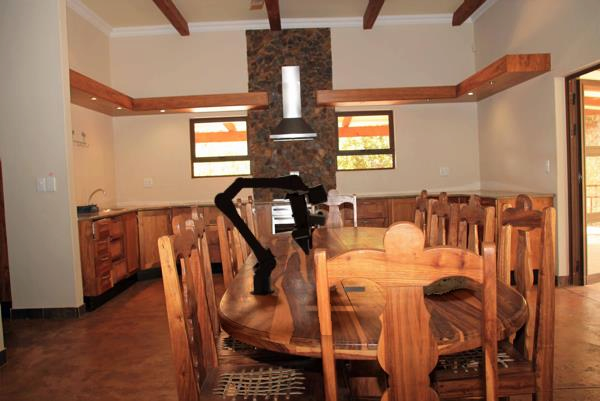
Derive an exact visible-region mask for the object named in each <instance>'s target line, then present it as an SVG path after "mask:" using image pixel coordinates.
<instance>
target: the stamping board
mask: <svg viewBox="0 0 600 401" xmlns="http://www.w3.org/2000/svg"><path fill="white" fill-rule="evenodd" d="M343 292H344V293H346V292H347V293H348V292H349V293H354V292H355V293H359V292H360V293H361V292H362V293H364V292H365V293H366V286H344V288H343Z"/></svg>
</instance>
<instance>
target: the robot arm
mask: <svg viewBox="0 0 600 401" xmlns="http://www.w3.org/2000/svg"><path fill="white" fill-rule="evenodd" d="M243 189H280V190H285V191H286V192H285V195H283V197H282V200H285V201H286V200H288V202H289V206H290V209H291V214H290V215H291V218H292V219H293V222H294V226H293V227H294V228H293V229H292V232H291V233H290V235H291V239H292V240H293V241H295V242H296V244H297V245H298V247H299V248H301V249H300V250H301V251H302V252H303V253H304V254H305V255H306V256H310V250H313V248H314V240H313V238H314V232H315V230H316V229H317V228H316V227H317V226H320V227H325V225H326V222H327V215H326V214H324V211H321V210H318V211H317V213H312V211H311V210H310V209H308V205H310V206H312V207H314V206H318V205H321V204H325V203H328V199H329V198H328V194H327V192H326V189H325V188H324V185H323V184H322V183H320V184H317V185H315V186H313V185H312V186H310V187H309V185H307V184H305V183H304V182H303V178H302V177H301V176H300V175H299V174H296V173H295V174H287V175H283V176H276V177H242V176H241V177H239V176H238V177H236V178H235V179H234V181H232V183H231V184H230V185H228V187H227V188H226V189H224V191H219V192H218V193H217V194H215V196H214V198H213V201H214V202H213V203H214V206H215V208H217V209H218V210H219V211H220V212H221V213H222V214H223V215H225V217H227V218H228V219H229V221H230V222H231V223H232V225H233V227H235V229H236V230H237V232H238V233H239V234H240V235H241V237H242V239H243V240H244V241H245V242H246V244H247V245H248V246H249V248H250V249H251V250H252V253H253V256H254V257H255V259H256V261H257V262H256V263H255V264H254V265H253V266H252V268H251V269H252V272H253V273H254V274H253V276H252V282H253V284H252V285H253V290H251V291H249V294H252V295H253V294H254V295H261V296H262V295H263V296H267V295H268V294H271V293H273V292H275V291H276V290H275V289H272V276H271V275H272V272H273V271H274V270H275V269H276V267H277V264H278V262H277V259H276V258H277V256H276V255H275V253H273V252H272V250H271V248H270V247H269V246H268V245H266V246H265V247H264V246H263V245H262V244H261V243H260V242H259V240H258V239H257V237H256V236H255V234H254V233H253V231H251V229H250V228H249V226H248V225H247V224H246V222H245V221H244V219H243V218H242V216H241V215H240V213H239V211H238V210H237V206H235V203H234V201H233V200H234V199H235V197H237V196H238V194H239V193H240V192H241V191H242V190H243ZM288 191H292V192H291V193H289V192H288ZM299 192H303V193H299Z"/></svg>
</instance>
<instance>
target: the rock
mask: <svg viewBox="0 0 600 401" xmlns="http://www.w3.org/2000/svg"><path fill="white" fill-rule="evenodd" d="M467 284H468V278H465V277H447V278H443V279H440V280H438V281H436V282H434V283H432V284H431V285H429V286H425V287H424V294H431V293H441V294H440V295H444V294H447V292H448V293H450V292H449V291H451V290H454V291H456V290H461V289H466V287H467ZM460 288H461V289H460ZM455 289H456V290H455ZM451 292H452V291H451ZM443 293H444V294H443ZM431 295H432V294H431Z"/></svg>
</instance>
